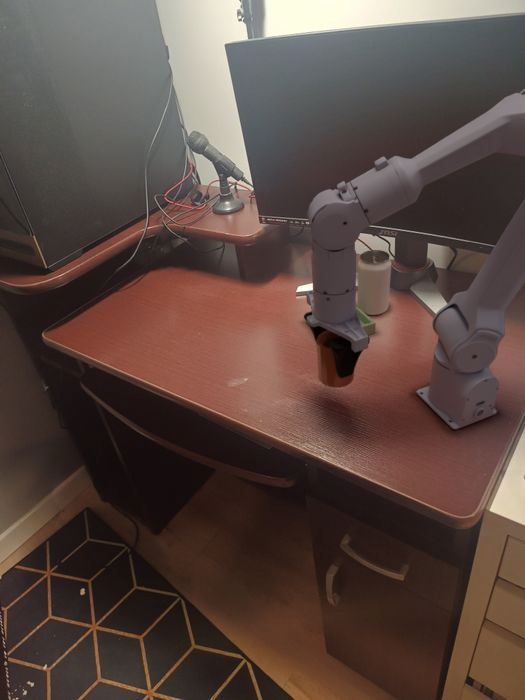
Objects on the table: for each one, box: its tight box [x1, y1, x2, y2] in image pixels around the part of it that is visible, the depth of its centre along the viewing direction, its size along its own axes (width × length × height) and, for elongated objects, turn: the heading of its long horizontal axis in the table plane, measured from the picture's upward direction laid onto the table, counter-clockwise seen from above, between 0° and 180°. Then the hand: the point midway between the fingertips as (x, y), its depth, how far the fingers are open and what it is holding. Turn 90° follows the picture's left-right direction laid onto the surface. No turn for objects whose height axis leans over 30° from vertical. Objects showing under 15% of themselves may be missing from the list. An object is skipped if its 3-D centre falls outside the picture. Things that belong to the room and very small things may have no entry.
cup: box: [316, 330, 355, 389], centre depth 69 cm, size 5×5×7 cm
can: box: [356, 249, 392, 316], centre depth 94 cm, size 6×6×12 cm
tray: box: [305, 305, 377, 336], centre depth 93 cm, size 10×10×2 cm
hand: (335, 363), depth 70 cm, fingers closed on cup, 5 cm apart
